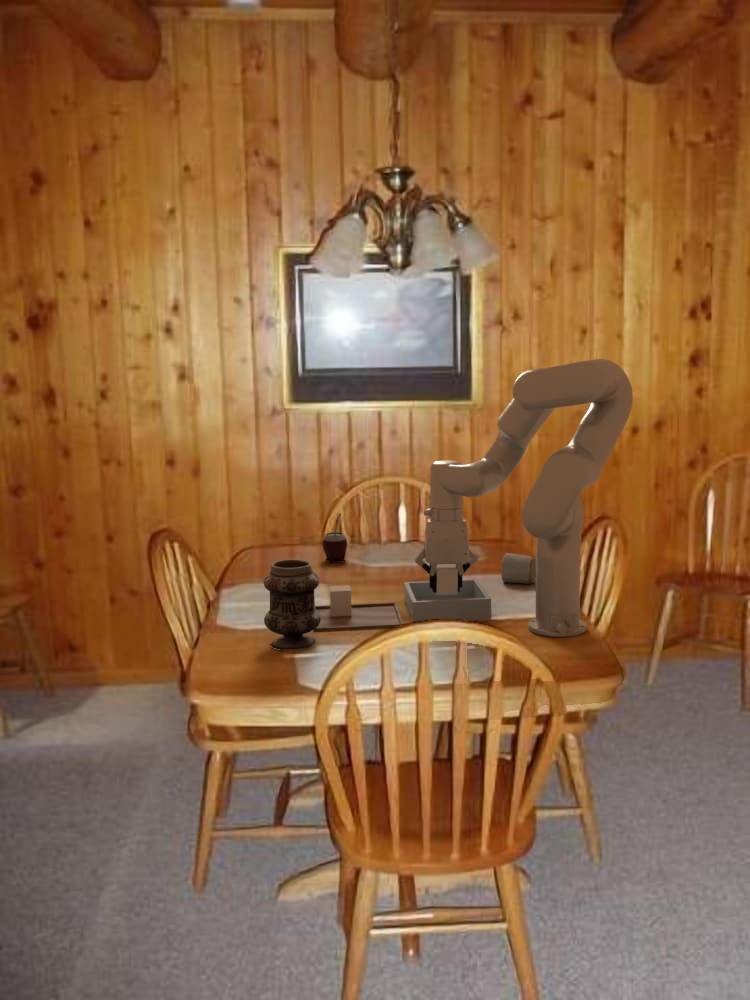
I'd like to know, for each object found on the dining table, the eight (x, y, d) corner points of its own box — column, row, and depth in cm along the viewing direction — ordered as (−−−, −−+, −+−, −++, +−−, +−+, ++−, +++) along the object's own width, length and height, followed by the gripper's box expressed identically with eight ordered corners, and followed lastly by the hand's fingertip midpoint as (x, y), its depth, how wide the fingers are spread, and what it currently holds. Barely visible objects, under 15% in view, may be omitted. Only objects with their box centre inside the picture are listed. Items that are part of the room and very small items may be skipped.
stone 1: (351, 615, 228) (350, 590, 227) (331, 616, 227) (330, 591, 226) (350, 609, 232) (349, 585, 231) (330, 610, 232) (329, 586, 231)
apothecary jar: (333, 643, 210) (330, 561, 207) (292, 658, 201) (289, 573, 198) (294, 632, 218) (291, 554, 215) (253, 646, 209) (249, 564, 206)
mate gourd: (330, 557, 289) (328, 507, 286) (354, 559, 286) (352, 509, 283) (318, 563, 282) (316, 512, 280) (342, 565, 279) (340, 513, 276)
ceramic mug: (532, 587, 250) (532, 557, 249) (500, 585, 253) (500, 556, 252) (539, 577, 260) (540, 549, 259) (509, 575, 263) (509, 547, 262)
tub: (491, 619, 223) (491, 598, 223) (413, 623, 222) (412, 602, 221) (477, 598, 241) (477, 579, 240) (404, 602, 240) (404, 582, 239)
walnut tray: (403, 629, 218) (403, 624, 218) (314, 633, 217) (314, 628, 216) (396, 607, 236) (395, 602, 236) (313, 610, 234) (312, 606, 234)
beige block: (457, 594, 226) (457, 569, 225) (436, 595, 226) (437, 570, 225) (454, 589, 231) (454, 564, 230) (434, 589, 230) (434, 564, 229)
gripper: (411, 518, 220) (411, 596, 224) (486, 516, 222) (484, 594, 225) (407, 511, 228) (407, 587, 231) (480, 510, 229) (478, 585, 232)
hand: (445, 590), depth 228 cm, fingers closed on beige block, 4 cm apart
